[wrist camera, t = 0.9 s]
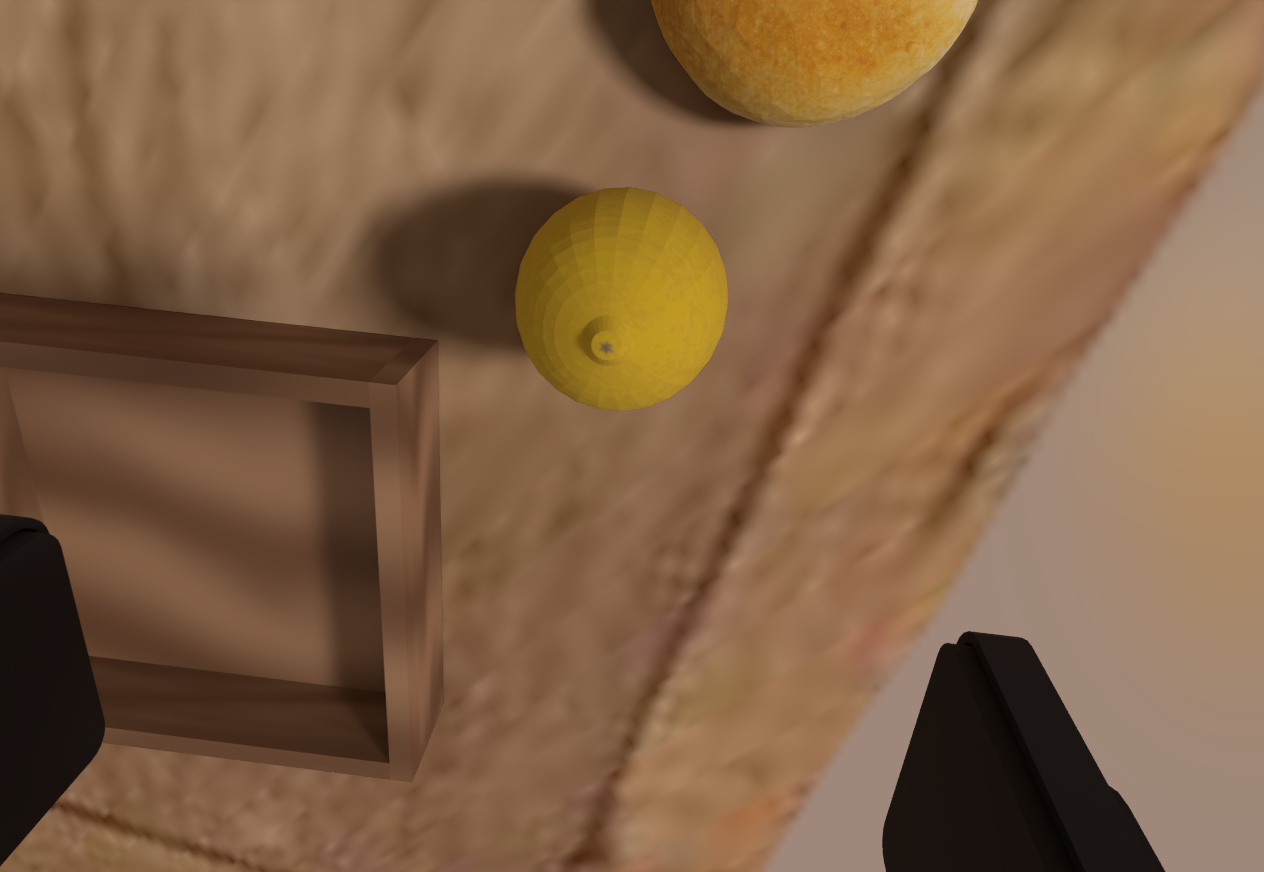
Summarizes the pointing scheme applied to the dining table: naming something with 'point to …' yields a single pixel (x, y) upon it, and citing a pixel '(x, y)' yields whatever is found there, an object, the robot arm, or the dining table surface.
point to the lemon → (621, 298)
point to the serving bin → (237, 526)
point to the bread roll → (808, 52)
